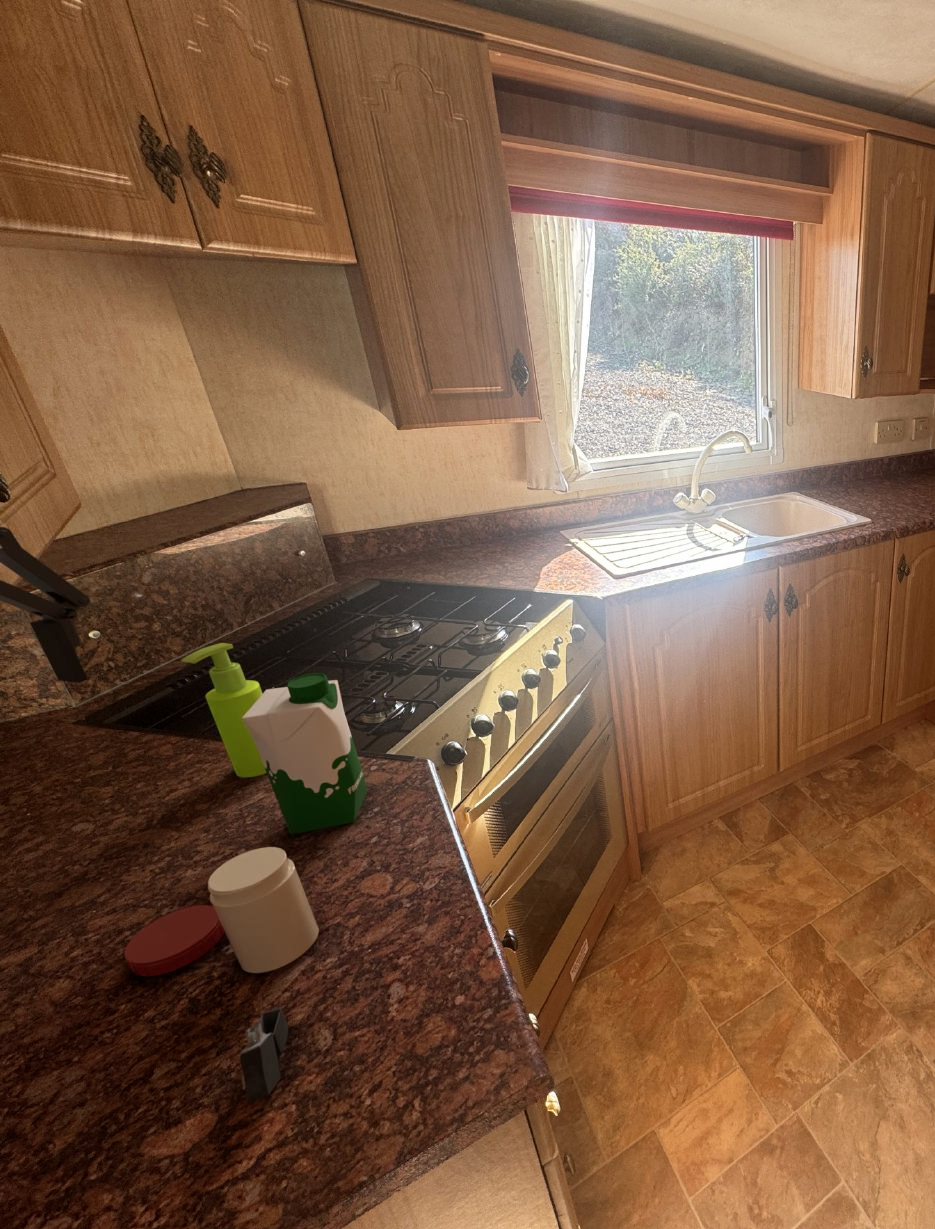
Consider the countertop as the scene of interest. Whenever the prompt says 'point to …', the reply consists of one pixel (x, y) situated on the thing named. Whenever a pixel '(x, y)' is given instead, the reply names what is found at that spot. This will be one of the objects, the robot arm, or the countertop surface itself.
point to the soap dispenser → (232, 708)
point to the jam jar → (263, 909)
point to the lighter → (263, 1054)
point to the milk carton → (308, 753)
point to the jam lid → (174, 941)
